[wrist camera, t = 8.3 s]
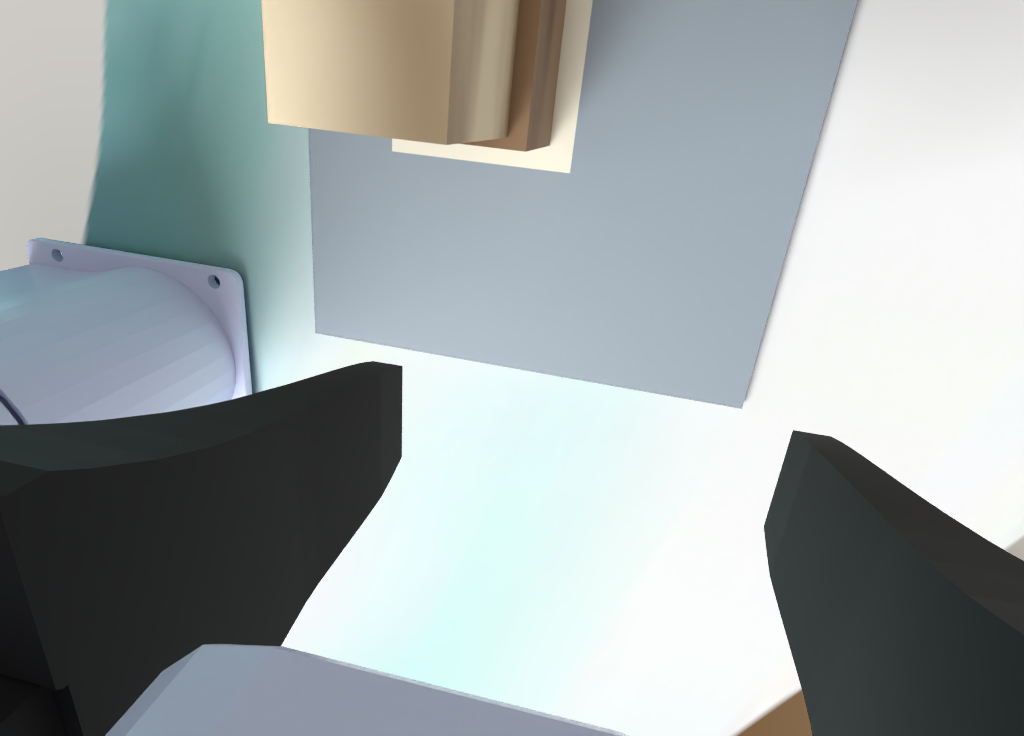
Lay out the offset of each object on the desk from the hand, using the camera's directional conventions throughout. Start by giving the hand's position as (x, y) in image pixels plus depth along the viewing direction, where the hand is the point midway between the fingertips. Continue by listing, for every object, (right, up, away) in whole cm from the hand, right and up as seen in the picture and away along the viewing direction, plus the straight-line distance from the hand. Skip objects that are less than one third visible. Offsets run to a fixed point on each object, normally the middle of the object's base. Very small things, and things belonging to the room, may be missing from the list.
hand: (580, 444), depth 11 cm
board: (0, +11, +7) cm, 13 cm away
